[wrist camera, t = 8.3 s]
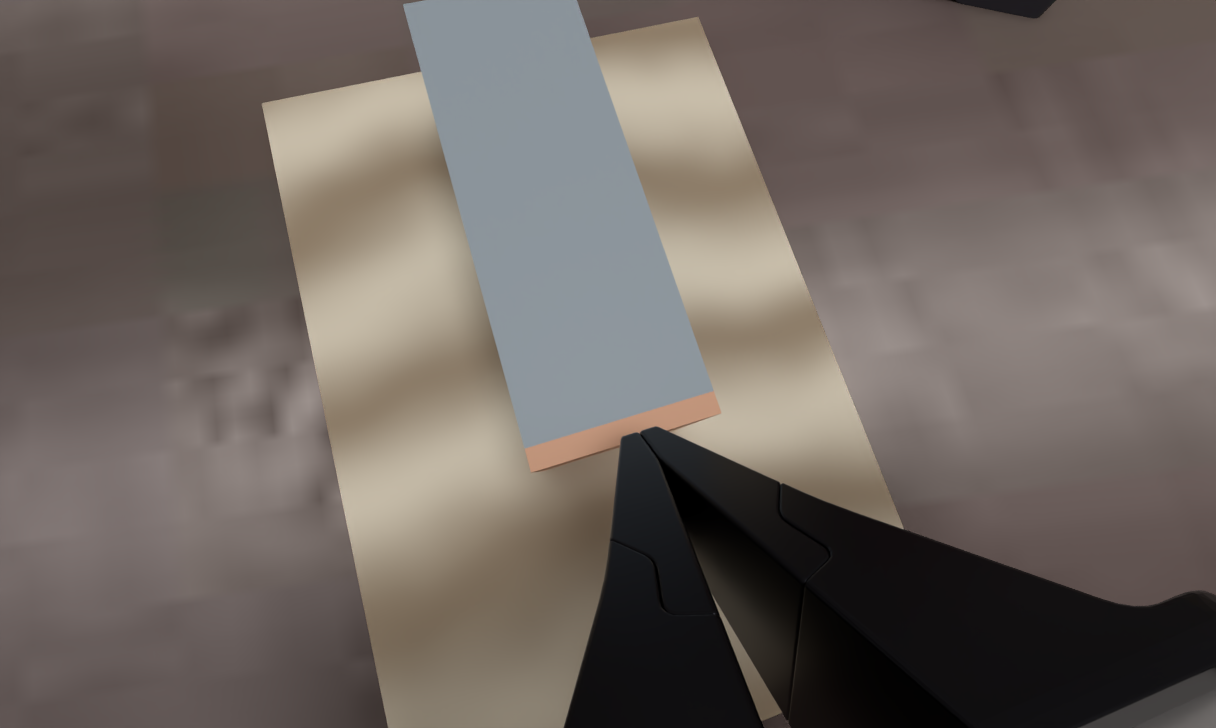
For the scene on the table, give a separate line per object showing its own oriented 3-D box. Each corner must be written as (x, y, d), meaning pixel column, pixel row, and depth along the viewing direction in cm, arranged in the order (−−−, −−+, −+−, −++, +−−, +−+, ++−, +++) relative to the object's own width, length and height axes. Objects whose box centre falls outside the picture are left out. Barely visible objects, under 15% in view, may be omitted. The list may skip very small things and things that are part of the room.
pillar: (721, 412, 13) (567, -25, 15) (531, 472, 12) (403, 4, 14) (679, 428, 17) (568, 95, 20) (542, 471, 17) (445, 122, 19)
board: (929, 635, 18) (950, 644, 17) (425, 835, 15) (415, 861, 14) (692, 37, 22) (697, 16, 21) (277, 121, 20) (261, 103, 19)
